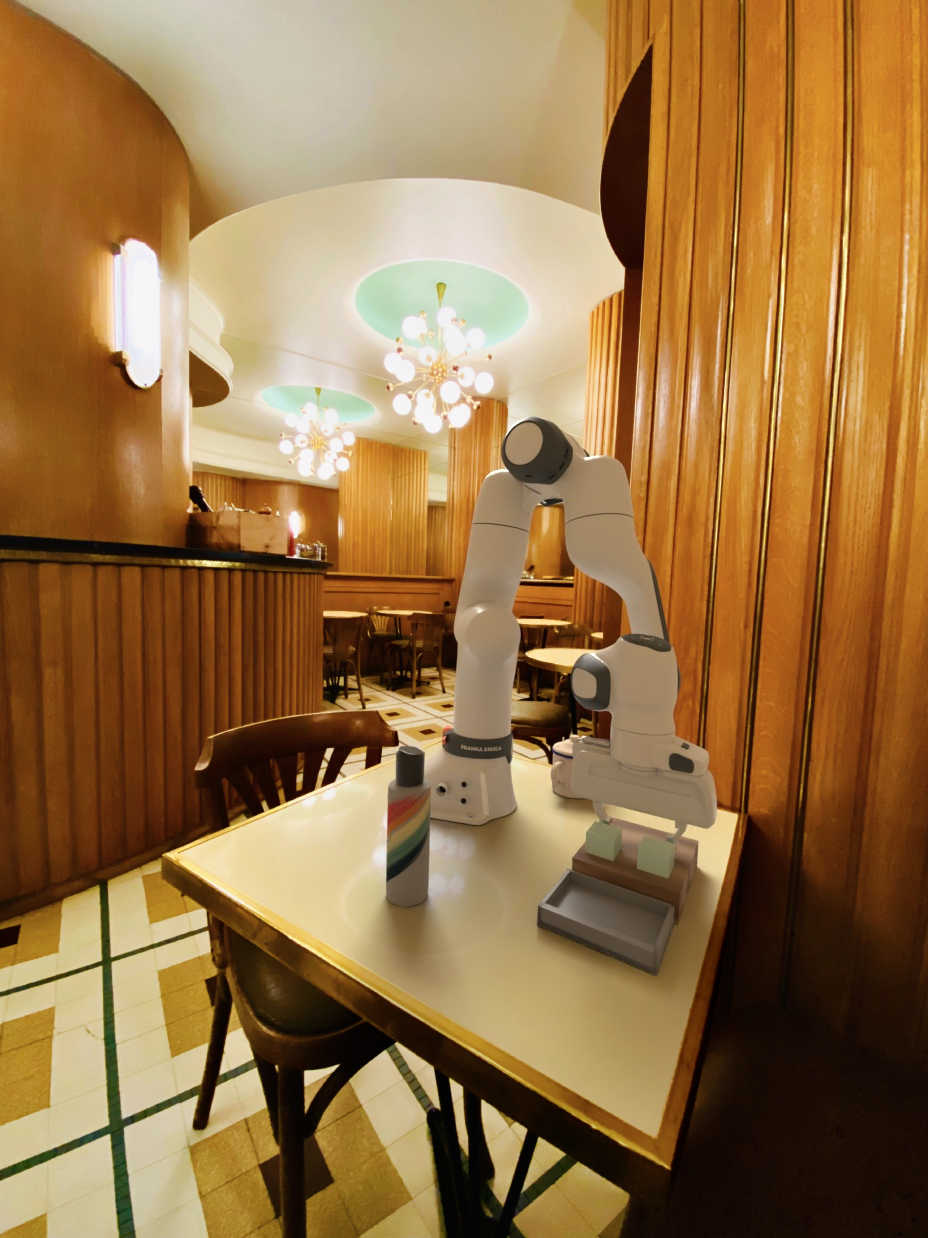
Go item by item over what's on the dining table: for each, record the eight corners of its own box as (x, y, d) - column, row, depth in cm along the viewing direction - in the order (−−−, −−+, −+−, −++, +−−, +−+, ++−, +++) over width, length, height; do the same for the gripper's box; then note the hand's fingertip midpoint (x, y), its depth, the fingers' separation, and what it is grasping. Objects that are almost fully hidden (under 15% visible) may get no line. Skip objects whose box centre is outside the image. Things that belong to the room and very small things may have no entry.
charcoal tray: (567, 886, 69) (567, 868, 68) (674, 925, 61) (675, 906, 61) (537, 925, 60) (537, 905, 60) (656, 976, 53) (657, 954, 52)
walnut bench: (605, 839, 82) (606, 815, 82) (697, 866, 75) (698, 840, 74) (571, 885, 69) (572, 857, 69) (678, 924, 61) (679, 893, 61)
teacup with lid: (566, 779, 109) (568, 727, 108) (603, 792, 102) (605, 736, 101) (533, 793, 100) (535, 737, 100) (570, 808, 94) (573, 748, 93)
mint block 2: (644, 855, 70) (644, 835, 69) (674, 865, 67) (675, 843, 67) (636, 868, 66) (637, 847, 66) (668, 878, 64) (669, 856, 64)
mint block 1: (594, 840, 73) (595, 821, 73) (621, 849, 71) (622, 829, 71) (585, 852, 70) (586, 831, 70) (613, 861, 68) (614, 840, 68)
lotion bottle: (387, 882, 68) (390, 741, 67) (428, 881, 69) (431, 741, 68) (384, 908, 63) (387, 755, 62) (428, 907, 63) (432, 755, 62)
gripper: (565, 738, 74) (562, 827, 75) (716, 767, 63) (710, 870, 64) (579, 729, 80) (576, 812, 80) (721, 754, 69) (715, 850, 69)
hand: (637, 838), depth 72 cm, fingers open, 8 cm apart
